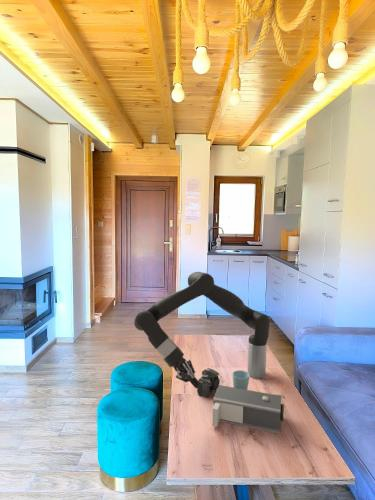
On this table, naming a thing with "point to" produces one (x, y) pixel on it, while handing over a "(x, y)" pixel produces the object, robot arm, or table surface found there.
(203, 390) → the camera
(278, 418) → the grey box
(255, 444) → the table surface
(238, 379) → the cup
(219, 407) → the side door
